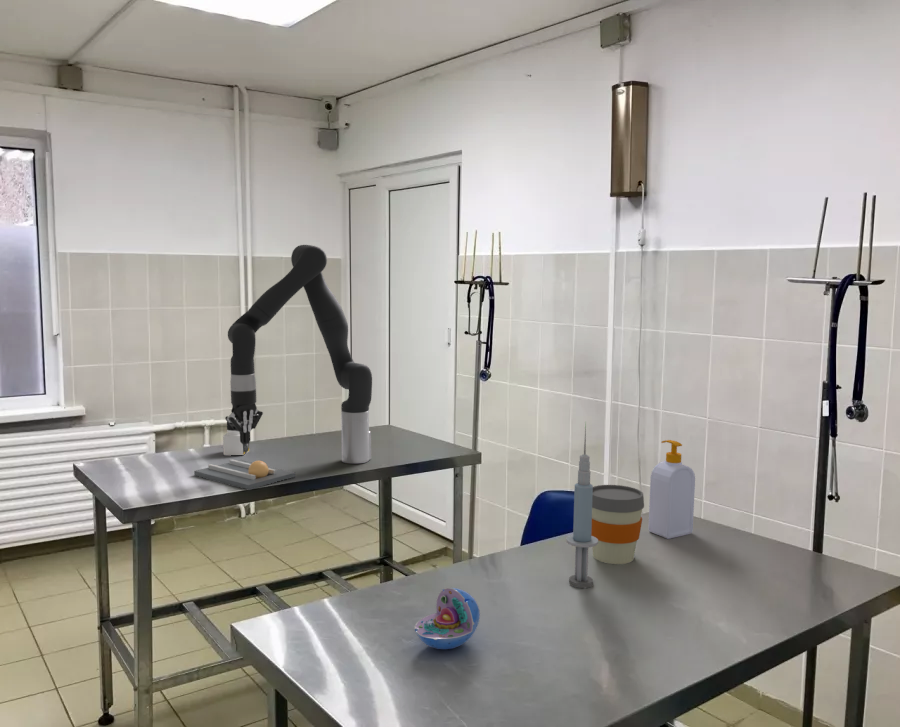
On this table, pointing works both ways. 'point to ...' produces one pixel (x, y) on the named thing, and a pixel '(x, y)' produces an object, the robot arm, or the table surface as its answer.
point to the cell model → (450, 620)
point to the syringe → (582, 523)
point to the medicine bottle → (233, 442)
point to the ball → (258, 469)
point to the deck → (241, 474)
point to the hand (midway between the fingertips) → (245, 443)
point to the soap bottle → (671, 496)
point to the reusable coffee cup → (616, 522)
